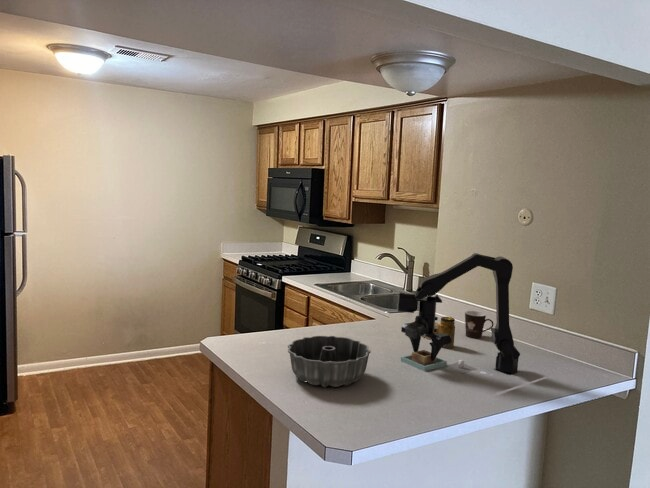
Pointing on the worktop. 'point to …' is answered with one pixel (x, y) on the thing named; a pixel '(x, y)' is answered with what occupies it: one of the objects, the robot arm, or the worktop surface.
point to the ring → (422, 357)
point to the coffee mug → (475, 324)
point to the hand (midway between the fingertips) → (424, 357)
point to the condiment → (448, 330)
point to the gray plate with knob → (461, 367)
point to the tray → (408, 361)
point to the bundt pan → (328, 360)
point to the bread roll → (434, 332)
